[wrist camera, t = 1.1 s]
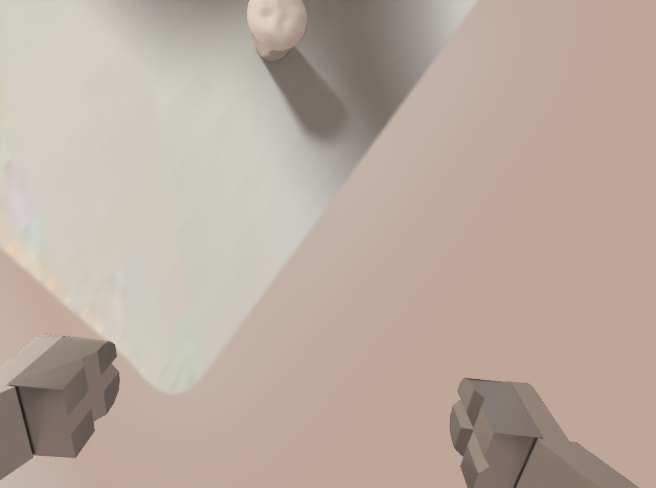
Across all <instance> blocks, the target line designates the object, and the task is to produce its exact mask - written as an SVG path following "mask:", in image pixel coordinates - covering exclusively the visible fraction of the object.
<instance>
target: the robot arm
mask: <svg viewBox="0 0 656 488" xmlns="http://www.w3.org/2000/svg"><path fill="white" fill-rule="evenodd" d="M116 357H117V355H116V348H115V344H113V343H112V342H110V341H103V340H95V339H87V338H79V337H71V336H60V335H52V334H43V335H39V336H37V337H36V338H35V339H34V340H33V341H31V342H30V343H29V344H28V345H26V346H25V347H24V348H23V349H21V350H20V351H19V352H18V353H17V354H15V355H14V356H13V357H12V358H10V359H9V360H8V361H7V362H6V363H4V364H3V365H2V366H1V367H0V480H1V479H2V478H4V477H5V476H7V475H8V474H10V473H11V472H13V471H14V470H16V469H17V468H18V467H20V466H21V465H23V464H24V463H26V462H27V461H29V460H30V459H32V458H33V455H39V456H55V457H70V458H76V457H77V455H78V454H79V452H80V451H81V450H82V448H83V447H84V445H85V444H86V442H87V441H88V440H89V438H90V437H91V436H92V434H93V433H94V431H95V429H94V421H96V420H97V419H99V418H101V417H102V416H104V415H106V414H107V413H108V411H109V410H110V408H111V407H112V405H113V404H114V401H115V399H116V396H117V393H118V391H119V382H120V378H119V371H118V370H117V369H116V368H115V367H114V366H113V365H112V364H111V363H112V362H113V360H114V359H115V358H116ZM458 393H459V396H460V398H461V400H460V401H458V402H457V403H456V404H454V405H453V408H452V412H451V416H450V433H451V438H452V442H453V445H454V448H455V449H456V450H457V451H458V452H459V453H460V454H461V455H462V456H463V460H462V463H461V466H460V467H461V470H462V472H463V475H464V478H465V481H466V484H467V487H468V488H639V487H637V486H636V485H635V484H633V483H632V482H631V481H629V480H628V479H627V478H625V477H624V476H622V475H621V474H620V473H618V472H617V471H615V470H614V469H613V468H611V467H610V466H609V465H607V464H606V463H604V462H603V461H602V460H600V459H599V458H598V457H596V456H595V455H593V454H592V453H591V452H589V451H588V450H586V449H585V448H584V447H582V446H581V445H580V444H578V443H577V442H570V441H569V440H568V438H567V437H566V436H565V434H564V432H563V431H562V429H561V428H560V426H559V425H558V423H557V422H556V420H555V419H554V417H553V416H552V414H551V413H550V411H549V410H548V408H547V407H546V406H545V404H544V402H543V401H542V399H541V398H540V396H539V395H538V393H537V392H536V390H535V389H534V388H533V387H532V386H531V385H530V384H528V383H519V382H501V381H491V380H480V379H470V378H464V379H463V380H462V381H461V383H460V385H459V388H458Z"/></svg>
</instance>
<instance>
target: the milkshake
mask: <svg viewBox="0 0 656 488" xmlns="http://www.w3.org/2000/svg"><path fill="white" fill-rule="evenodd" d="M247 22H248V26H249V28H250V31H251V34H252V38H253V43H254V46H255V48H256V50H257V52H258V54H259V55H260V57H262V58H264V59H266V60H268V61H270V62H271V61H276V60H281V59H282V57H283V56H284V55H285V54H286V53H287V52H288V51H289V50H290V49H291V48H292V47H294V46H295V45H296V44H297V43H298V42H299V41H300V40H301V39H302V37H303V35H304V33H305V30H306V25H307V12H306V9H305V6H304V4H303V2H302V0H249V3H248V8H247Z"/></svg>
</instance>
